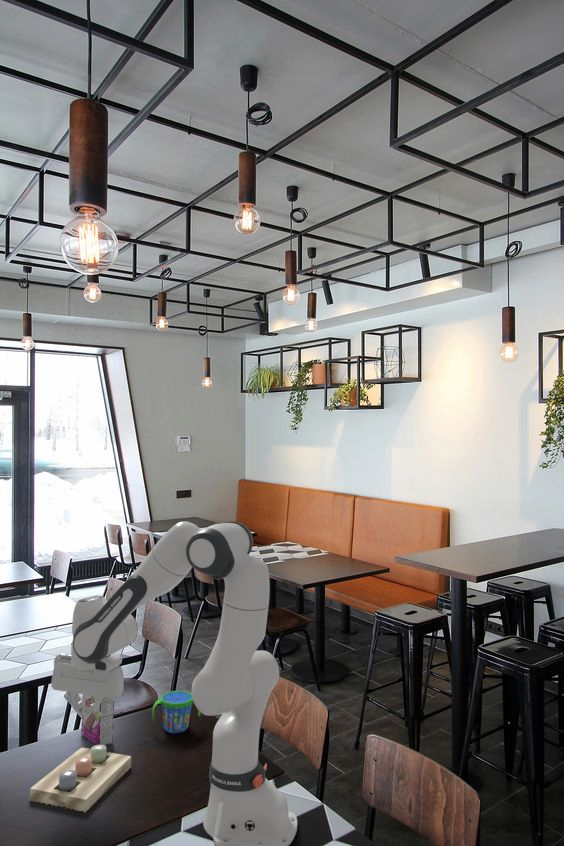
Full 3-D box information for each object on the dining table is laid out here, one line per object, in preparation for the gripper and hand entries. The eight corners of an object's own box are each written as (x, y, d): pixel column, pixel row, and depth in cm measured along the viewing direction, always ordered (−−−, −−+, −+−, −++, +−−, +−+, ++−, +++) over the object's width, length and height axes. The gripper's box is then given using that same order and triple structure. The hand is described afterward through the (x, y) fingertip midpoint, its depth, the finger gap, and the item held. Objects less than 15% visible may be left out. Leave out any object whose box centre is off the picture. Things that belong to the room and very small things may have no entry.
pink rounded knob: (94, 771, 160) (95, 757, 160) (85, 780, 156) (86, 765, 156) (81, 769, 161) (81, 754, 162) (71, 777, 157) (72, 762, 158)
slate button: (79, 785, 154) (80, 770, 154) (69, 794, 149) (70, 779, 150) (65, 782, 155) (65, 767, 155) (55, 791, 151) (55, 776, 151)
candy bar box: (79, 736, 185) (81, 682, 185) (94, 730, 188) (96, 678, 189) (98, 749, 177) (100, 692, 178) (113, 743, 181) (115, 688, 181)
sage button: (108, 759, 167) (109, 745, 167) (100, 766, 163) (101, 752, 163) (95, 756, 168) (96, 742, 168) (87, 764, 164) (87, 750, 164)
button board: (130, 767, 167) (131, 756, 167) (85, 812, 146) (85, 799, 146) (81, 758, 171) (81, 747, 172) (29, 800, 150) (30, 788, 150)
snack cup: (199, 720, 198) (200, 688, 198) (201, 735, 187) (202, 702, 188) (151, 723, 194) (152, 691, 195) (151, 738, 184) (152, 705, 184)
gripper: (47, 656, 160) (45, 709, 159) (115, 665, 155) (113, 720, 154) (61, 649, 166) (59, 700, 165) (127, 657, 161) (125, 710, 160)
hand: (86, 709), depth 160 cm, fingers open, 3 cm apart
